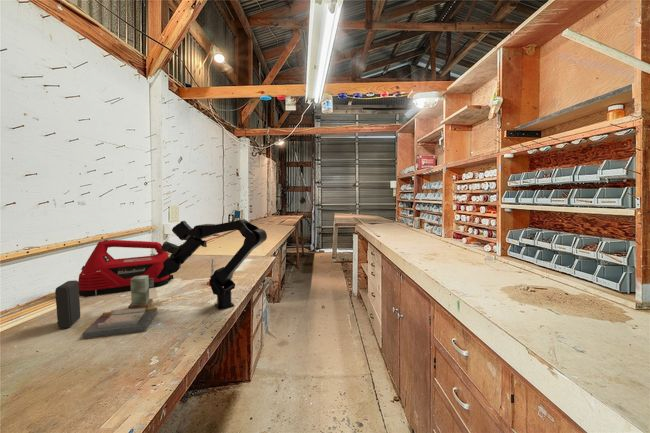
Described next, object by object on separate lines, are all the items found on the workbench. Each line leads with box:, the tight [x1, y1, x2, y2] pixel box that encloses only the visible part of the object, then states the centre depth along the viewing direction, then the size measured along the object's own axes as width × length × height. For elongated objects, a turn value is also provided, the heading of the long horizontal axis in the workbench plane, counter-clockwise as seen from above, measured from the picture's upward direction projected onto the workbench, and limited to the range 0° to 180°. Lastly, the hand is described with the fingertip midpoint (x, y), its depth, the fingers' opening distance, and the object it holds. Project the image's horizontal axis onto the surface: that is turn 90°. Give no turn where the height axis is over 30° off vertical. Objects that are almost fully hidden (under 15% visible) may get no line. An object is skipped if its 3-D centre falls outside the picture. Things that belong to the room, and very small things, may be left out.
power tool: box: [77, 239, 174, 297], centre depth 144 cm, size 16×40×25 cm, turn 122°
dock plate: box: [81, 306, 158, 340], centre depth 103 cm, size 18×16×4 cm
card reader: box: [54, 279, 81, 330], centre depth 103 cm, size 9×4×15 cm, turn 21°
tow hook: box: [206, 259, 215, 286], centre depth 150 cm, size 8×13×9 cm
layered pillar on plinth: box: [127, 275, 154, 309], centre depth 118 cm, size 7×7×13 cm
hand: (160, 275), depth 120 cm, fingers open, 9 cm apart
